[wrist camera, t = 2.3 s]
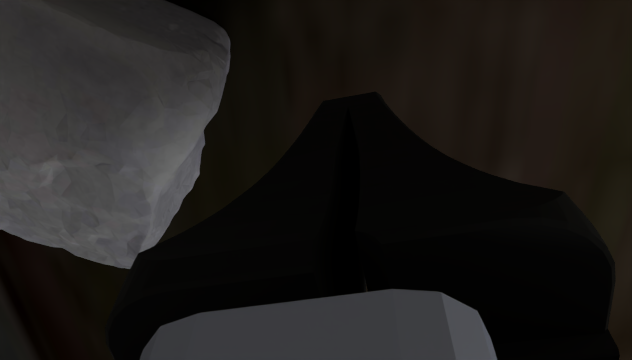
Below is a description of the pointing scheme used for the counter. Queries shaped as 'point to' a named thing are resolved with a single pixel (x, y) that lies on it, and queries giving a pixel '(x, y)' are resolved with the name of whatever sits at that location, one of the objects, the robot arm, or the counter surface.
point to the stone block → (103, 120)
